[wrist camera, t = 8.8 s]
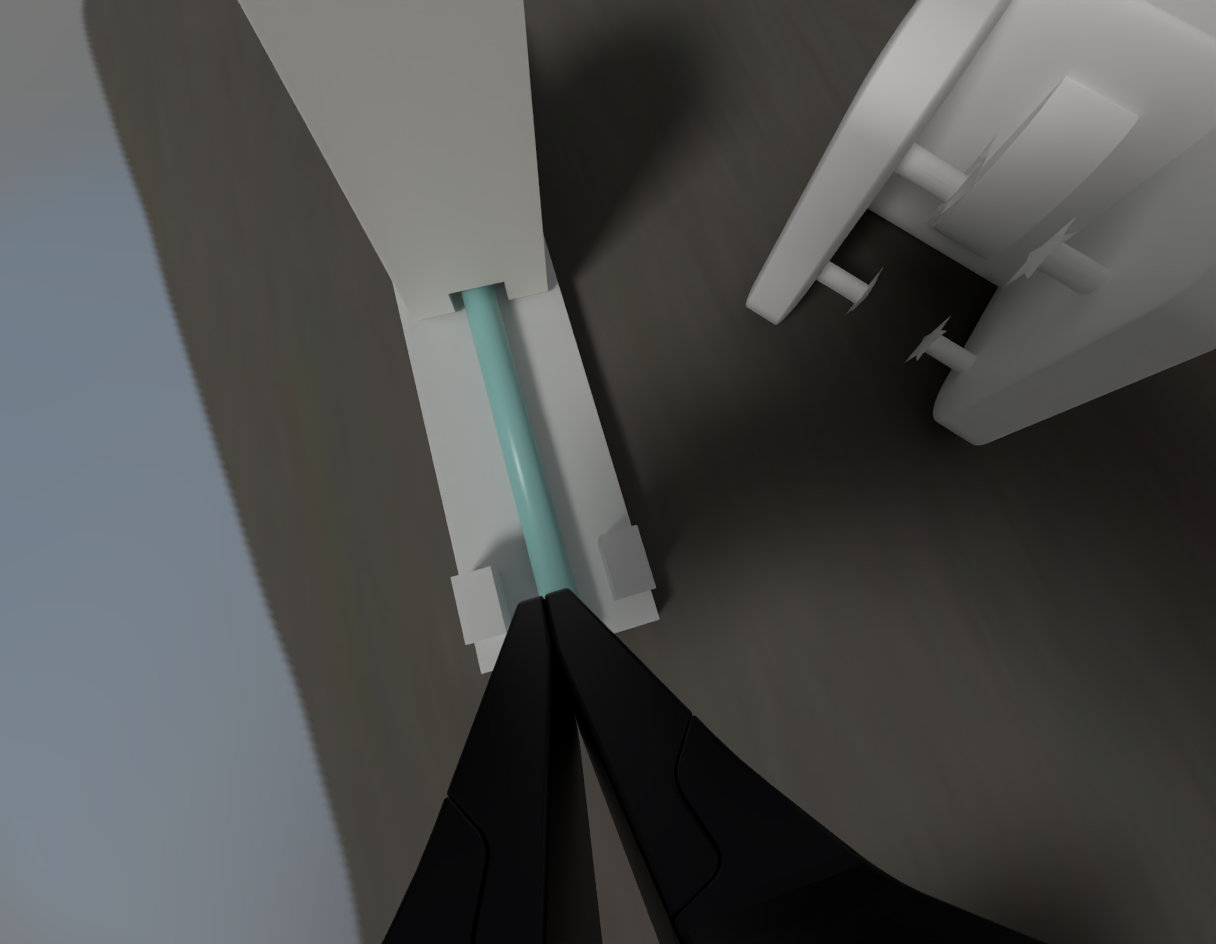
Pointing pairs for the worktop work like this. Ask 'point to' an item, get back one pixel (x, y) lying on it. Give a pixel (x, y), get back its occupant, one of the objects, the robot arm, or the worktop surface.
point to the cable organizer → (1032, 194)
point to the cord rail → (523, 464)
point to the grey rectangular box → (422, 133)
